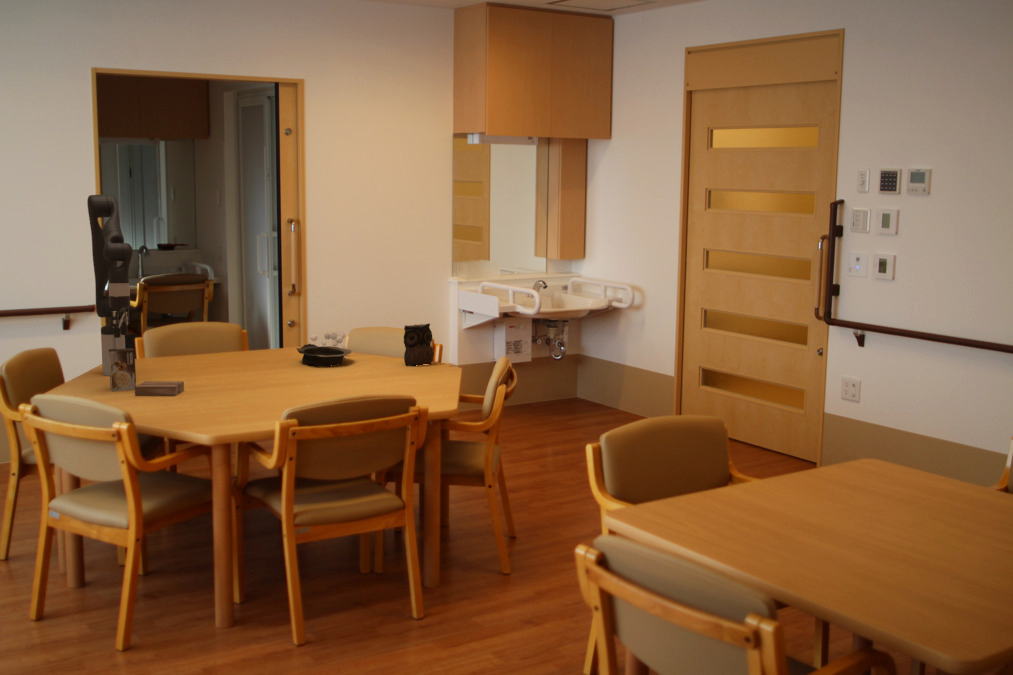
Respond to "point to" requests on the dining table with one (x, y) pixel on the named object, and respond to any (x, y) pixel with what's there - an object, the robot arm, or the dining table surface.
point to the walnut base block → (159, 388)
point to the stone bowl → (322, 355)
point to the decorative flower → (333, 336)
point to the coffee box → (122, 369)
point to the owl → (418, 345)
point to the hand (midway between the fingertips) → (120, 336)
